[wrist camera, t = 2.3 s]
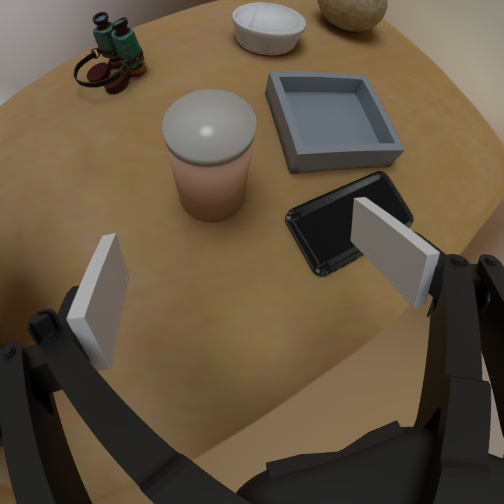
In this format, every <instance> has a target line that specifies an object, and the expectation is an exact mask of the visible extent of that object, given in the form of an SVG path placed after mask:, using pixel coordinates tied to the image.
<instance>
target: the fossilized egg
mask: <svg viewBox="0 0 504 504" xmlns="http://www.w3.org/2000/svg"><path fill="white" fill-rule="evenodd" d="M318 4H319V7H320V10H321V12H322V13H323V15H324V16H325V18H326V19H327V20H328V21H329V22H330V23H332V24H333V25H335V26H336V27H338V28H340V29H343V30H347V31H352V32H357V31H364V30H367V29H370V28H372V27H374V26H375V25H377V24H378V23H379V22H380V21H381V20H382V18H383V17H384V14H385V12H386V9H387V0H318Z"/></svg>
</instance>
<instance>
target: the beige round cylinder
mask: <svg viewBox="0 0 504 504" xmlns="http://www.w3.org/2000/svg"><path fill="white" fill-rule="evenodd" d="M255 130H256V116H255V113H254V111H253V109H252V108H251V106H250V105H249V104H248V103H247V102H246V101H245V100H244V99H242V98H241V97H239V96H238V95H236V94H233V93H231V92H228V91H224V90H217V89H206V90H199V91H195V92H192V93H189V94H187V95H185V96H183V97H181V98H179V99H178V100H177V101H175V102H174V103H173V104H172V105H171V106H170V107H169V109H168V110H167V112H166V113H165V116H164V118H163V122H162V131H163V136H164V140H165V144H166V148H167V152H168V156H169V160H170V164H171V167H172V171H173V175H174V179H175V183H176V186H177V190H178V194H179V197H180V201H181V204H182V206H183V208H184V209H185V210H186V212H187V213H188V214H190V215H191V216H192V217H194V218H196V219H198V220H201V221H205V222H217V221H221V220H224V219H227V218H229V217H230V216H232V215H233V214H234V213H235V212H236V211H237V210H238V209H239V208H240V206H241V204H242V202H243V199H244V193H245V187H246V181H247V176H248V170H249V164H250V158H251V153H252V147H253V141H254V136H255Z"/></svg>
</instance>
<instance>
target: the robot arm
mask: <svg viewBox="0 0 504 504" xmlns="http://www.w3.org/2000/svg"><path fill="white" fill-rule="evenodd" d="M351 242H352V243H353V244H354V245H355V246H356V247H357V248H358V249H359V250H360V251H361V252H362V253H363V254H364V255H365V256H366V257H367V258H368V259H369V260H370V261H371V262H372V263H373V264H374V266H375V267H376V268H377V269H378V270H379V271H380V272H381V273H382V274H383V275H384V276H385V277H386V278H387V279H388V280H389V282H390V283H391V284H392V285H393V286H394V287H395V288H396V289H397V290H398V291H399V292H400V294H401V295H402V296H403V297H404V298H405V299H406V300H407V301H408V302H409V304H410V305H411V306H412V307H413V308H414V307H417V306H420V305H423V304H425V303H426V300H427V296H428V293H429V294H430V295H432V297H433V300H432V303H431V306H430V309H429V311H428V314H427V317H429V315H430V329H429V340H428V350H427V358H426V367H425V373H424V380H423V387H422V393H421V398H420V404H419V409H418V414H417V418H416V422H415V425H414V427H400V425H399V423H398V421H394V422H392V423H390V424H387V425H385V426H382V427H380V428H378V429H375V430H373V431H370V432H368V433H367V434H365V435H364V436H362V437H361V438H359V439H358V440H356V441H355V442H353V443H352V444H350V445H349V446H347V447H346V448H344V449H343V450H340V451H338V452H327V453H314V454H300V455H296V456H292V457H288V458H284V459H280V460H276V461H271V462H267V463H266V468H267V470H266V471H264V472H262V473H260V474H258V475H256V476H254V477H253V478H251V479H250V480H249V481H247V482H246V483H245V484H244V485H243V486H242V487H241V488H240V489H239V490H238V491H237V492H236V493H234V492H233V491H231V490H230V489H229V488H227V487H226V486H224V485H223V484H221V483H220V482H219V481H217V480H216V479H214V478H213V477H212V476H211V475H209V474H208V473H206V472H205V471H204V470H202V469H201V468H200V467H199V466H198V465H196V464H195V463H194V462H193V461H191V460H190V459H189V458H187V457H186V456H184V455H183V454H180V453H178V452H177V451H175V450H174V449H173V448H172V447H171V446H169V445H168V444H167V443H166V442H165V441H164V440H163V439H162V438H161V437H159V436H158V435H157V434H156V433H155V432H154V431H153V430H152V429H151V428H150V427H149V426H148V425H147V424H146V423H145V422H144V421H143V420H142V419H141V418H140V417H139V416H138V415H137V414H136V413H135V412H134V411H133V410H132V409H131V408H130V407H129V406H128V405H127V404H126V403H125V402H124V401H123V400H122V399H121V398H120V397H119V396H118V395H117V393H116V392H115V391H114V390H113V389H112V388H111V387H110V386H109V385H108V383H107V382H106V381H105V380H104V379H103V378H102V377H101V375H100V374H99V373H98V372H97V371H96V370H101V369H112V363H113V357H114V350H115V344H116V339H117V333H118V328H119V322H120V317H121V312H122V307H123V303H124V298H125V293H126V289H127V284H128V280H129V275H128V272H127V269H126V266H125V262H124V259H123V256H122V252H121V249H120V246H119V242H118V239H117V235H116V233H114V234H109V235H103V236H102V238H101V240H100V242H99V244H98V247H97V249H96V251H95V253H94V255H93V257H92V259H91V261H90V264H89V266H88V268H87V270H86V272H85V275H84V277H83V279H82V282H81V284H80V286H74V287H72V288H71V289H70V290H69V291H68V292H67V294H66V296H65V298H64V300H63V303H62V305H61V307H60V308H61V309H59V312H58V314H57V315H56V313H55V311H53V310H52V309H44V310H41V311H39V312H36V313H35V314H34V315H33V316H32V317H31V318H30V319H29V320H28V323H27V330H28V331H29V333H30V335H31V336H32V338H33V340H34V341H35V343H36V345H33V346H30V347H27V348H25V349H23V347H22V346H21V344H20V343H19V342H17V341H11V342H8V343H7V344H5V345H3V347H1V349H0V447H1V446H4V452H5V457H6V462H7V467H8V472H9V476H10V480H11V484H12V488H13V492H14V496H15V499H16V502H17V504H92V502H91V500H90V498H89V496H88V493H87V491H86V489H85V487H84V484H83V482H82V480H81V477H80V475H79V472H78V470H77V467H76V465H75V462H74V460H73V457H72V454H71V451H70V449H69V446H68V443H67V440H66V437H65V434H64V431H63V428H62V424H61V421H60V417H59V414H58V410H57V407H56V403H55V399H54V395H53V392H56V391H59V390H62V389H63V391H64V392H65V394H66V395H67V397H68V398H69V400H70V401H71V403H72V404H73V406H74V407H75V409H76V410H77V412H78V413H79V415H80V416H81V417H82V419H83V420H84V422H85V423H86V424H87V426H88V427H89V428H90V430H91V431H92V432H93V434H94V435H95V436H96V437H97V439H98V440H99V441H100V442H101V444H102V445H103V446H104V447H105V449H106V450H107V451H108V452H109V453H110V455H111V456H112V457H113V458H114V459H115V460H116V462H117V463H118V464H119V465H120V466H121V467H122V468H123V470H124V471H125V472H126V473H127V474H128V475H129V476H130V477H131V478H132V479H133V480H134V481H135V482H136V484H137V485H138V486H139V487H140V489H141V491H142V492H143V493H144V494H145V495H146V496H147V497H148V498H149V499H150V500H151V501H152V502H153V503H154V504H504V455H503V458H500V457H497V456H494V455H492V454H489V453H488V450H489V439H490V421H491V386H492V390H493V394H494V398H495V403H496V407H497V412H498V417H499V422H500V426H501V430H502V434H503V437H504V267H503V265H502V263H501V262H500V261H499V260H498V259H496V258H495V257H494V256H492V255H487V254H484V255H481V256H480V258H479V261H478V264H469V262H468V261H467V260H466V259H465V258H464V257H462V256H459V255H456V254H449V255H446V254H445V253H444V252H442V251H441V250H440V249H439V248H437V247H436V246H435V245H433V244H432V243H431V242H430V241H428V240H427V239H426V238H424V237H423V236H422V235H421V234H418V233H416V232H414V231H412V230H410V229H409V228H408V227H406V226H405V225H404V224H402V223H401V222H400V221H398V220H397V219H395V218H394V217H393V216H391V215H390V214H389V213H387V212H386V211H384V210H383V209H382V208H380V207H379V206H377V205H376V204H374V203H373V202H372V201H370V200H369V199H367V198H366V197H361V198H354V205H353V219H352V231H351ZM489 299H490V301H489ZM481 351H482V355H483V358H484V361H485V364H486V368H487V371H488V375H489V378H490V382H491V386H490V383H489V382H488V381H483V380H482V357H481ZM89 361H90V362H91V363H90V362H89ZM91 364H92V365H91Z"/></svg>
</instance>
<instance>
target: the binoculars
mask: <svg viewBox="0 0 504 504" xmlns="http://www.w3.org/2000/svg"><path fill="white" fill-rule="evenodd" d="M108 18H109V17H108V14H107V13H106V12H100V13H97V14H96V15H95V16H94V17H93V21H94V23H95V24H96V25H97V26H96V27H95V28H94V29H93V34H94V37H95V39H96V42H97V45H98V47H99V48H94V49H92V50H91V52H92V53H90V54H89V55H87V56H86V57H85V58H83V59H82V60H81V61H80V62H79V63H78V64H77V65H76V67H75V69H74V78H75V79H76V81H77V82H78V83H79V84H80V85H82V86H85V87H100V86H104V87H105V89H106V90H107V91H108V92H109V93H115V92H118V91H119V90H121V89H122V88H123V87H124V86H125V84H126V83H127V80H128V76H129V75H136V74H140V73H142V72H144V71H145V70H146V65H145V62H144V56H143V51H142V49H141V47H140V45H139V43H138V41H137V38H136V36H135V33H134V31H133V30H132V29H131V28H130V27H128V26H127V24H128V21H127V18H126V17H123V18H121V19H119V20H117V21H116V22H108ZM95 49H97V52H98V53H99V55H98V56H97V57H96V54H95V52H94V51H93V50H95ZM100 54H102V56H103V57H105V58H110V59H109V62H108V65H107V64H106V63H99V64H97V65H95V66H93V67H92V68H91V69H90V70H89V71H88V73H87V78H88V80H89V81H90V82H89V83H88V82H82V81H79V80H77V73H78V71H79V69H80V68H81V67H82V66H83V65H84V64H85V63H86V62H88V61H89V60H91V59H93V58H95V59H97V58H98V57H99V56H100ZM119 65H122V66H121V68H120V70H119V71H117V72H115V73H113V74H112V75H111V76H109V77H108V75H109V68H110V67H111V66H112V67H115V66H119ZM126 66H127V67H126ZM125 72H127V73H125ZM107 77H108V78H107ZM106 78H107V79H106Z"/></svg>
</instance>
